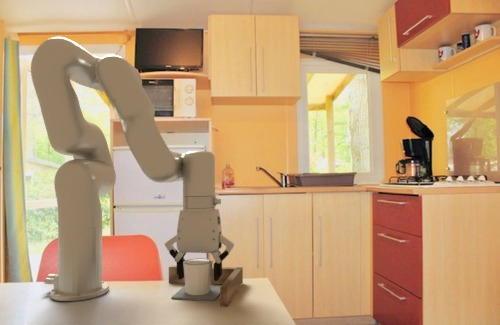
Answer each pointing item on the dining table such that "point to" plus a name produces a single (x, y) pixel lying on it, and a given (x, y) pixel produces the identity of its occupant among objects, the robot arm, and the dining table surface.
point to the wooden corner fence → (218, 282)
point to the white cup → (197, 276)
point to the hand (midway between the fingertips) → (199, 278)
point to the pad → (206, 297)
